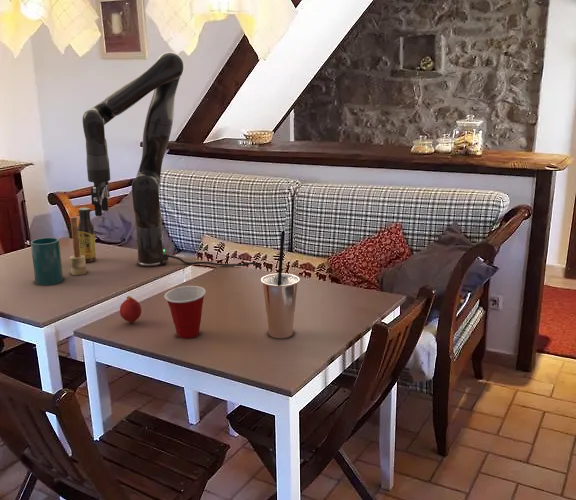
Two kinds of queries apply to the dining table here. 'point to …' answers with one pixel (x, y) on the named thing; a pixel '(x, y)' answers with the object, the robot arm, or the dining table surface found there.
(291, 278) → the metal cup with straw
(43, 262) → the teal cylindrical container
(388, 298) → the dining table surface
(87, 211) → the sauce bottle
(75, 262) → the wooden peg with cap
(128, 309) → the onion
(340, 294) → the dining table surface
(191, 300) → the plastic cup
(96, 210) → the robot arm
